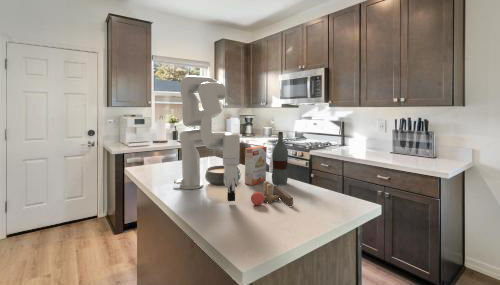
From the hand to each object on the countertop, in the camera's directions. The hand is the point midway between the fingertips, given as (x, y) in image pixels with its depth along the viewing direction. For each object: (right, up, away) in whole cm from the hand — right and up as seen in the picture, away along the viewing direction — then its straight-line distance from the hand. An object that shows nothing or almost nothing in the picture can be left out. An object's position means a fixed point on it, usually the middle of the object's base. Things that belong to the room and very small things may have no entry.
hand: (231, 200), depth 129 cm
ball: (+12, +1, -1) cm, 12 cm away
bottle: (+26, +3, +36) cm, 44 cm away
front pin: (+14, 0, +3) cm, 14 cm away
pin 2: (+18, -1, +2) cm, 18 cm away
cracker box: (+12, +3, +37) cm, 39 cm away
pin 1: (+16, -1, +7) cm, 18 cm away
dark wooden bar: (+24, -1, +7) cm, 25 cm away
